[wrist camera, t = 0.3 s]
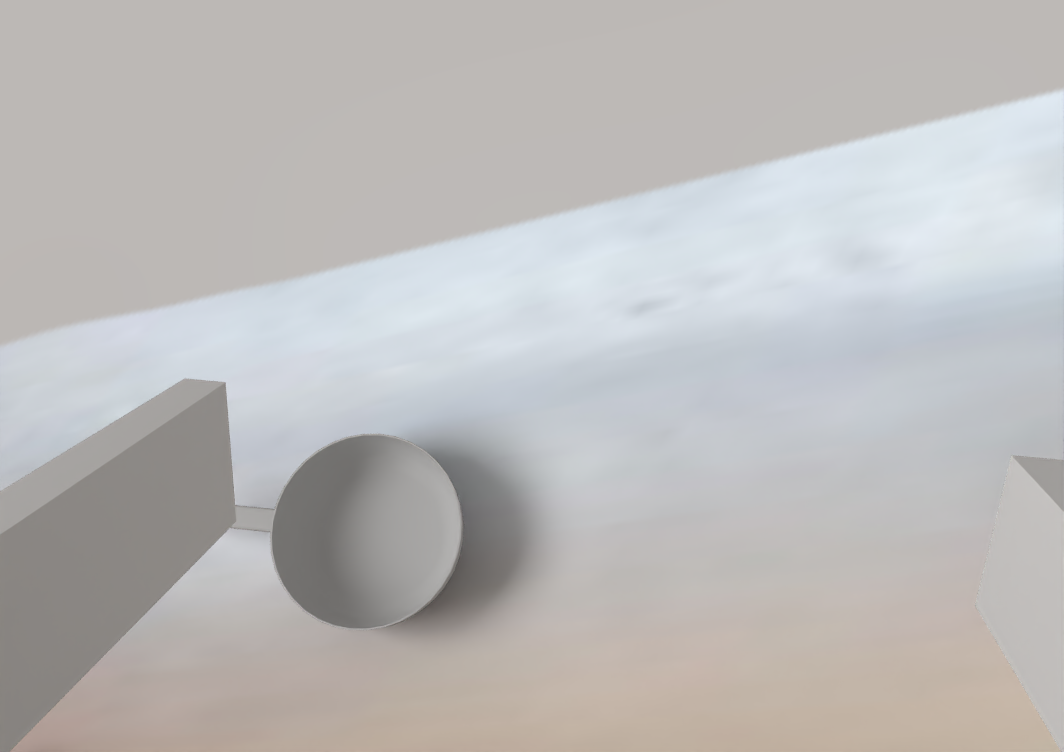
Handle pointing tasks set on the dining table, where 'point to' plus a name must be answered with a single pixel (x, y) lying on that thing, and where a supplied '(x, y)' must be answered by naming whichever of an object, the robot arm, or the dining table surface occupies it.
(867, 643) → the dining table surface
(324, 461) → the saucepan
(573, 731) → the dining table surface
